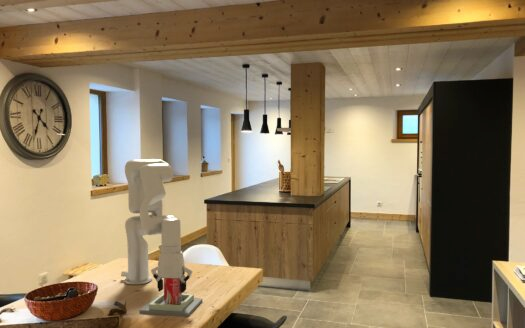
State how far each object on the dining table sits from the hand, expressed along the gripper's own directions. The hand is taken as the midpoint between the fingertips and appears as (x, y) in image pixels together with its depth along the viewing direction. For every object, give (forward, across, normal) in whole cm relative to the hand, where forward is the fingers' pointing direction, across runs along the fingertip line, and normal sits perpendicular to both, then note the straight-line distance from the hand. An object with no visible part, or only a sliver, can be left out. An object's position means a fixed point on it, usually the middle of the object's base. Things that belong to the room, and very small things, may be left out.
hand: (171, 291), depth 166 cm
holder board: (+6, 0, 0) cm, 6 cm away
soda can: (+5, 0, 0) cm, 6 cm away
